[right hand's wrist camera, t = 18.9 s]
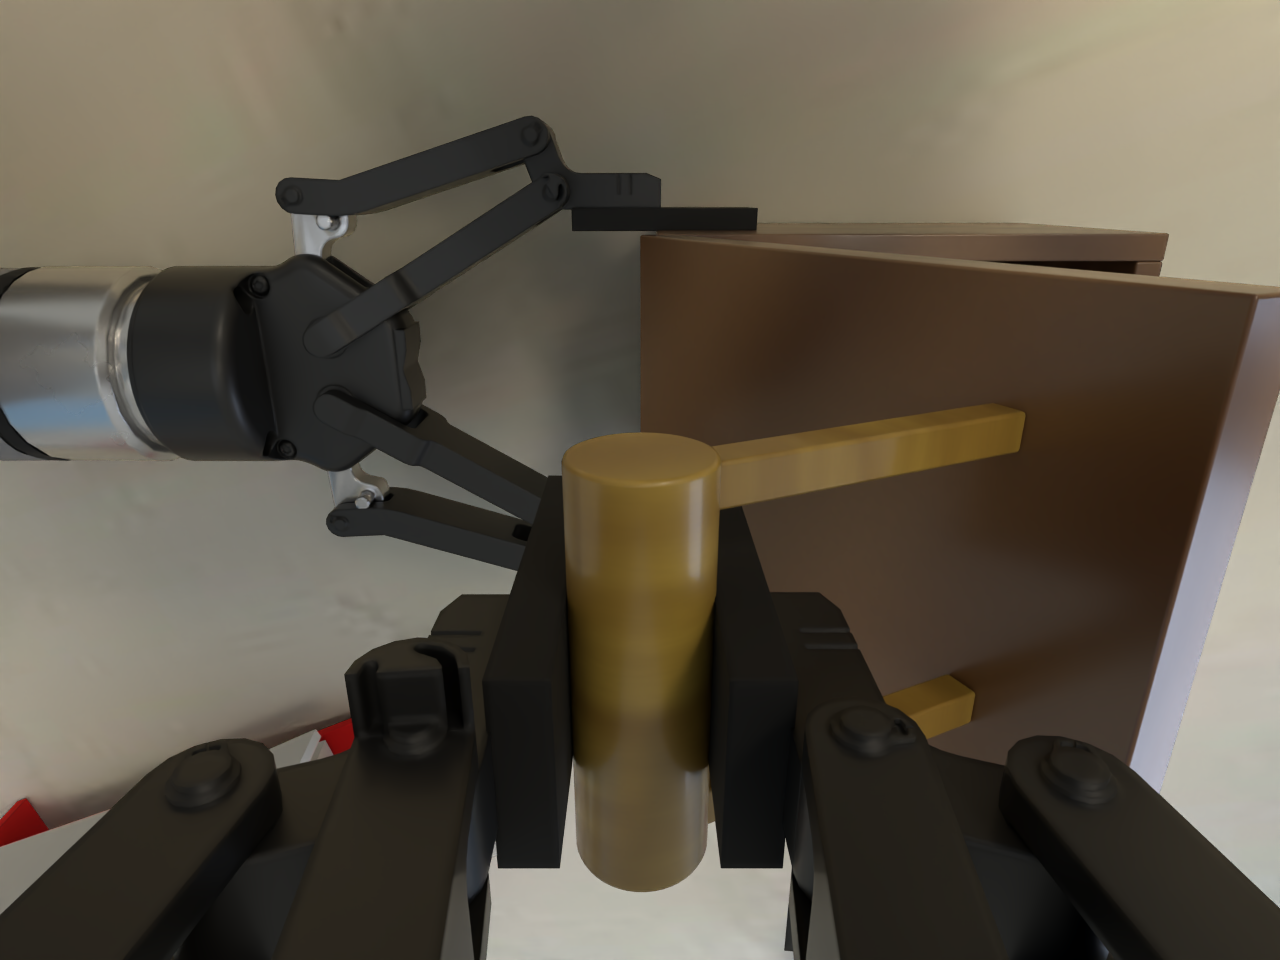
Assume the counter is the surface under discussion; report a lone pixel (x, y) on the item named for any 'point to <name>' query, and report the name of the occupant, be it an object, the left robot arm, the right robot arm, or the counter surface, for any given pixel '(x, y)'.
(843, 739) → the right robot arm
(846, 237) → the chest
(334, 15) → the counter surface
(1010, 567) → the lid
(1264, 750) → the counter surface
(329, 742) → the toy
